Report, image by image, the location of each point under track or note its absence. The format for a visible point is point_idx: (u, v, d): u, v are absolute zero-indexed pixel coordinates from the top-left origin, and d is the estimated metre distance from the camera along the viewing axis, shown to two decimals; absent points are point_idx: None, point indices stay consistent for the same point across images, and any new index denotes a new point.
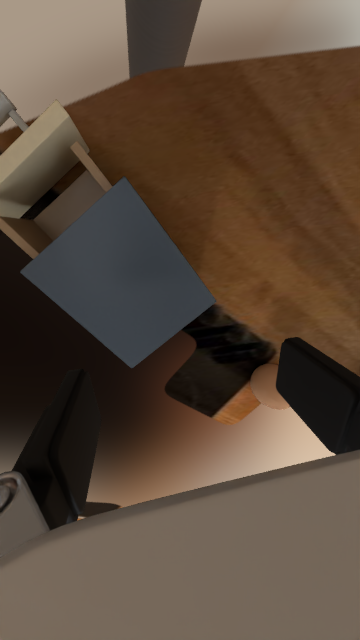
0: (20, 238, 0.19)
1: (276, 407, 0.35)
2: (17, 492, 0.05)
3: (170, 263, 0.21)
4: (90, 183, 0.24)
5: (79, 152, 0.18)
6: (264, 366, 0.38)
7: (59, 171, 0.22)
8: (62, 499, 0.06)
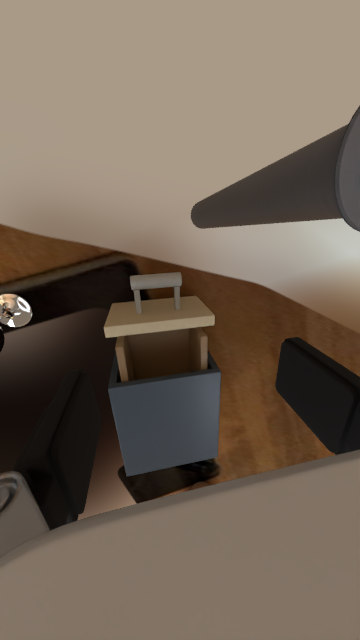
0: (124, 364, 0.23)
1: None
2: (17, 492, 0.05)
3: (208, 425, 0.27)
4: None
5: (203, 342, 0.24)
6: None
7: None
8: (63, 499, 0.06)
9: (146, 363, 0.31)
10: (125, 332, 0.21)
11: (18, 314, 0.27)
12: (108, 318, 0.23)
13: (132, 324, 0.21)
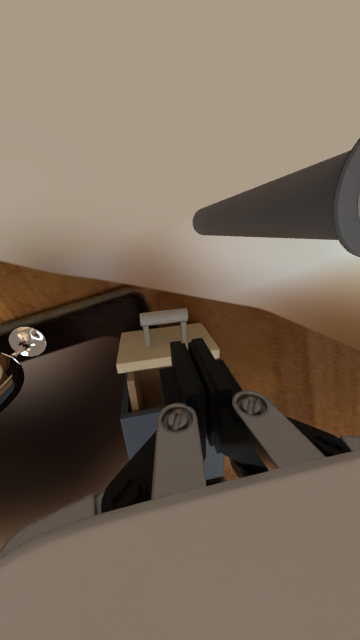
0: (135, 395, 0.24)
1: None
2: (191, 414, 0.07)
3: (214, 448, 0.29)
4: None
5: None
6: None
7: None
8: None
9: (154, 386, 0.32)
10: (136, 367, 0.23)
11: (34, 345, 0.28)
12: (119, 352, 0.24)
13: (142, 361, 0.23)
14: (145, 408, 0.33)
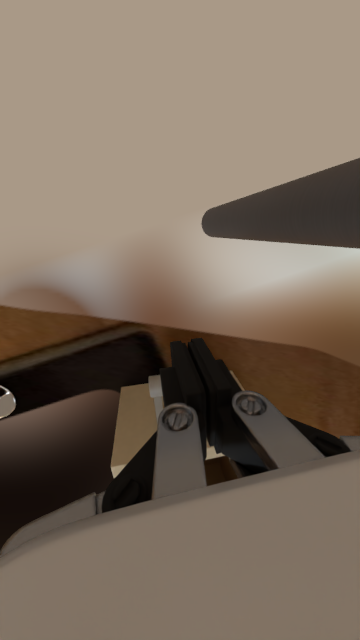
0: None
1: None
2: (191, 414, 0.07)
3: None
4: None
5: None
6: None
7: None
8: None
9: None
10: None
11: None
12: (117, 435, 0.16)
13: None
14: None
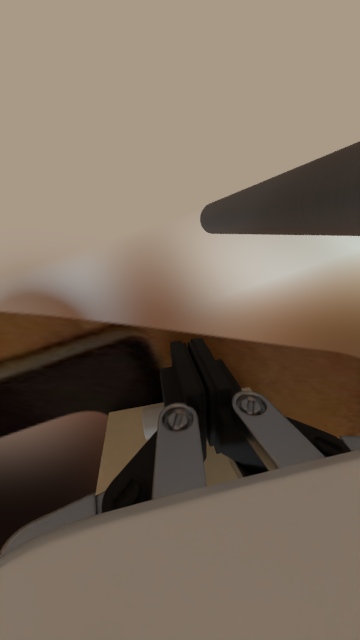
0: None
1: None
2: (191, 414, 0.07)
3: None
4: None
5: None
6: None
7: None
8: None
9: None
10: None
11: None
12: (99, 491, 0.11)
13: None
14: None
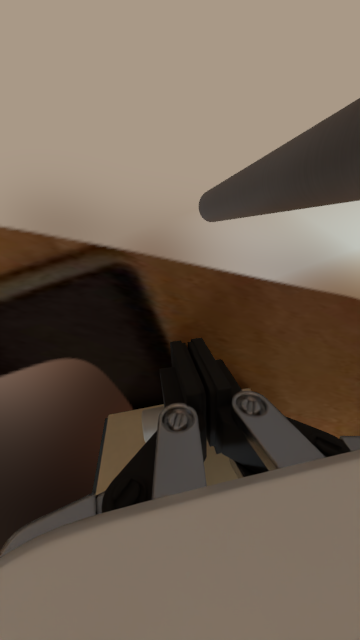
0: None
1: None
2: (191, 414, 0.07)
3: None
4: None
5: None
6: None
7: None
8: None
9: None
10: None
11: None
12: None
13: None
14: None
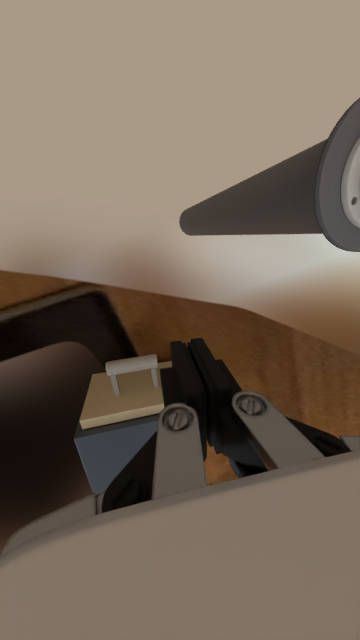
0: None
1: None
2: (191, 414, 0.07)
3: None
4: None
5: None
6: None
7: None
8: None
9: None
10: (101, 422, 0.21)
11: None
12: (85, 403, 0.23)
13: (108, 415, 0.21)
14: None
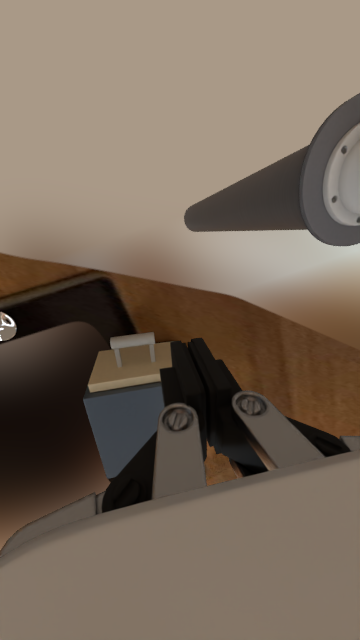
0: None
1: None
2: (191, 414, 0.07)
3: None
4: None
5: None
6: None
7: None
8: None
9: None
10: (106, 387, 0.25)
11: (3, 329, 0.29)
12: (93, 372, 0.27)
13: (112, 381, 0.25)
14: None
